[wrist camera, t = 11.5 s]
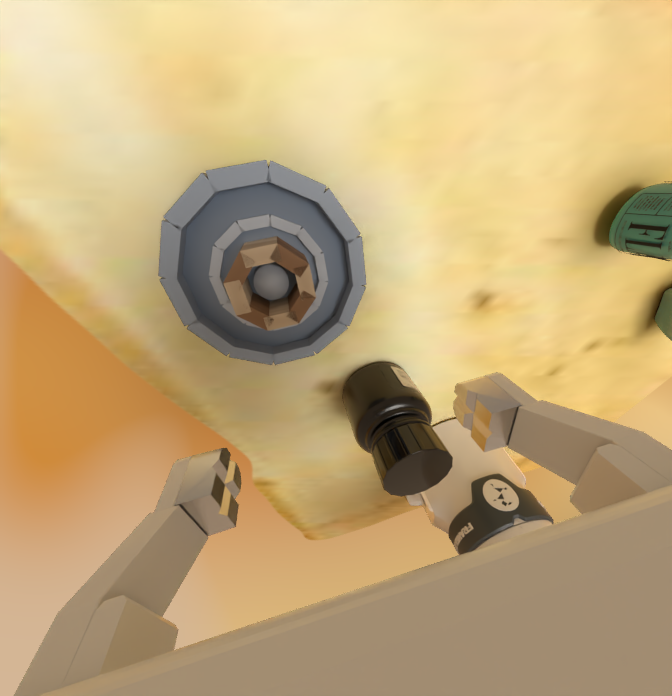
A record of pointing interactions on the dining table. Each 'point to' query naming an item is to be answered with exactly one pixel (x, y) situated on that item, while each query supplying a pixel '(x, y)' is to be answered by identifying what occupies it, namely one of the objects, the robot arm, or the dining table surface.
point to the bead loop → (260, 308)
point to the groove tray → (243, 202)
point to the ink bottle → (395, 429)
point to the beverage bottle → (645, 223)
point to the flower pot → (665, 314)
